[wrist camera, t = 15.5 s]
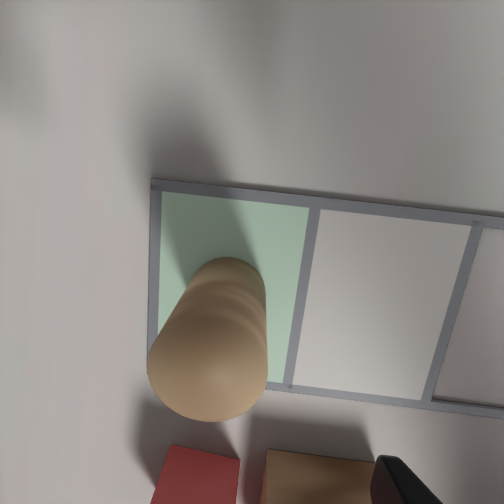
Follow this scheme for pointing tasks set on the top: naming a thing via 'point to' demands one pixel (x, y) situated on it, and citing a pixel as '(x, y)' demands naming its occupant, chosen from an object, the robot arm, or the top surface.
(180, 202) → the board
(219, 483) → the red block
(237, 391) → the beige wooden cylinder
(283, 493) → the tan wooden flat block
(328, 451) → the top surface
